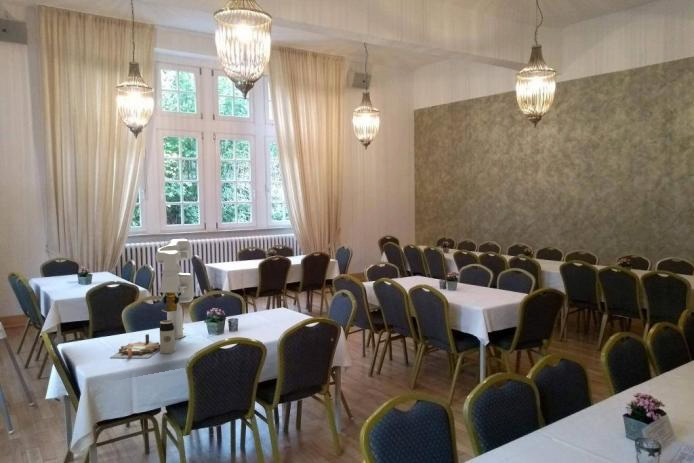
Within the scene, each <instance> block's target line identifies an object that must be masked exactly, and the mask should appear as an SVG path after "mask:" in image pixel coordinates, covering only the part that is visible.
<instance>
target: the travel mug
mask: <svg viewBox="0 0 694 463" xmlns="http://www.w3.org/2000/svg"><path fill="white" fill-rule="evenodd" d="M159 324H160V326H159V344H160V350H159V352H160V353H161V354H165V355H167V354H172V353H174V352H175V349H176V348H175V346H176V345H175V339H174V326H173V321H172V320H167V319H166V320H161V321H160V322H159Z"/></svg>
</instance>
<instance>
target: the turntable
mask: <svg viewBox="0 0 694 463" xmlns="http://www.w3.org/2000/svg"><path fill="white" fill-rule="evenodd" d="M144 336H145V341H138V342H134V343H133V342H132V343H131V342H130V343H128V344H125V345H121V346H120V348H118V352H121V354H125V353H126V354H128V348H132V354H143V353H149V352H150V353H152V352H153V351H155V350H159V351H160V342H158V341H156V342H152V340H151V341H150V334H149V333H145V335H144Z"/></svg>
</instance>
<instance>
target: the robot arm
mask: <svg viewBox="0 0 694 463" xmlns="http://www.w3.org/2000/svg"><path fill="white" fill-rule="evenodd" d="M191 257H192V249H191V243H190V241H189V240H188V239H185V238H180V239H179V238H178V239H177V238H176V239H175V238H174V239H170V240H168V241H167V242H166V245H164V246H162V247H159V248H157V250H156V253H155V260H156V263H157V264H159V265H160V264H163V271H161V272H160V273H161V274H162V276H161V282H160V284H161V285H160V287H159V288H158V289H157V292H158V293H159V294H160V296H162V299H163V300H162V301H163V304H164V305H166V295H167V293H175V295H176V297H175V304H177V310H179V311H172V312H166V320H172V321H173V326H174V340H177V339H183V338H185V337H186V333H184V329H185V328H184V324H183V323H184V322H183V321H184V320H183V316H184V315H183V308H182V306H181V305H180V303H182V304H183V303H191V302H192V301H193V300H194V277H193V275H192V274H191V273H188V272H187V273H186V272H184V273H183V272H182V267H181V266H180V264H179V263H180V261H188V260H190V259H191Z"/></svg>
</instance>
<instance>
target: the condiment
mask: <svg viewBox="0 0 694 463" xmlns="http://www.w3.org/2000/svg"><path fill="white" fill-rule="evenodd" d="M175 297H176V295H175V293H167V295H166V304H165V305H166V308H165V309H161V311H162V312H164V313H167V312H172V311H179V310H177V304H175Z"/></svg>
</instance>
